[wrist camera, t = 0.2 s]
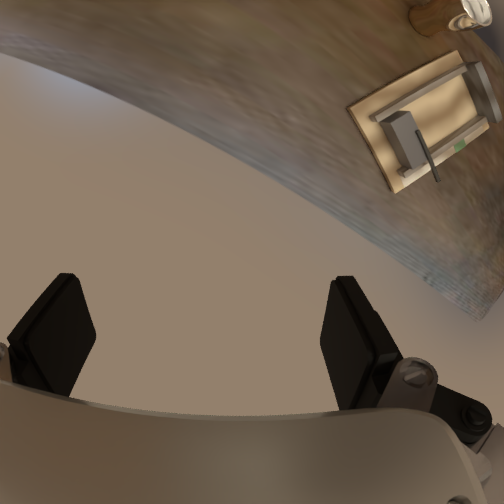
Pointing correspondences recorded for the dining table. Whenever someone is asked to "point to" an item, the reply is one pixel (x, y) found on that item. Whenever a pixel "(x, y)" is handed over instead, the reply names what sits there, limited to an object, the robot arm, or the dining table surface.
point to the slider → (407, 141)
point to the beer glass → (450, 16)
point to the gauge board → (429, 113)
